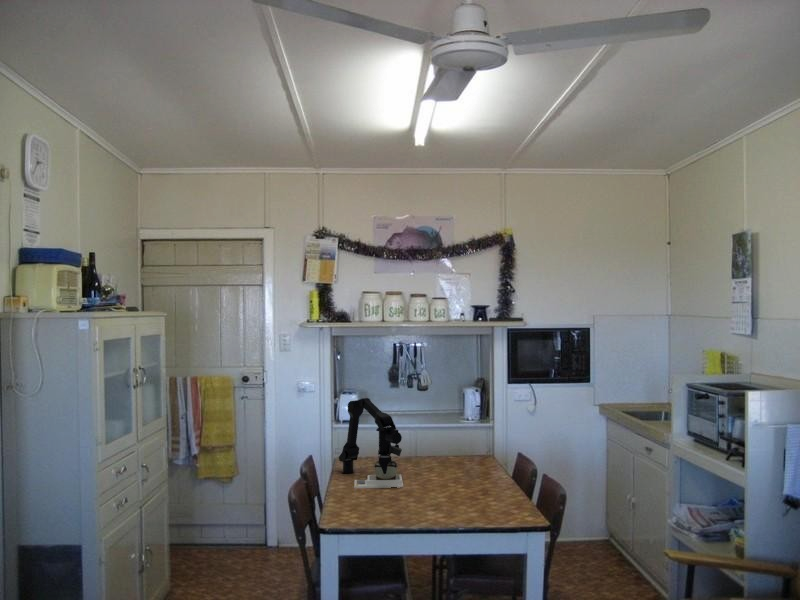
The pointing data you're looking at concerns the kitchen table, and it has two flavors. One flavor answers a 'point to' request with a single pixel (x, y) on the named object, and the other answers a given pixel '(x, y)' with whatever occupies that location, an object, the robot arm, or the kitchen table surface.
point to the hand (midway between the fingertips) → (384, 472)
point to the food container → (389, 473)
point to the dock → (378, 482)
